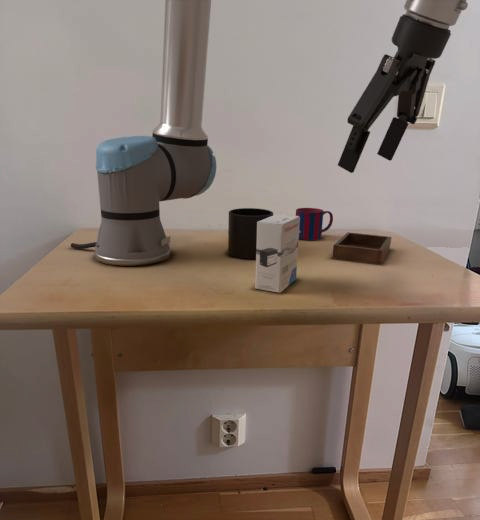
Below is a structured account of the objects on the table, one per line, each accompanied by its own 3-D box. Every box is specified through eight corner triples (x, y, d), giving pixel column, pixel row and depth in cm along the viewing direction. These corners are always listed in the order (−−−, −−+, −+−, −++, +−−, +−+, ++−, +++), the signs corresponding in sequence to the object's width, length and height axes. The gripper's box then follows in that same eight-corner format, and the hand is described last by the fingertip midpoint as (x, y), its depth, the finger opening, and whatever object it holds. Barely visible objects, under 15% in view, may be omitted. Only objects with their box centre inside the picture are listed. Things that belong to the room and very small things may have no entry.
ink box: (272, 276, 91) (275, 213, 86) (297, 280, 89) (301, 215, 84) (253, 289, 84) (255, 220, 79) (279, 293, 82) (283, 224, 77)
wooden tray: (332, 258, 103) (333, 244, 102) (346, 244, 115) (347, 232, 114) (380, 264, 100) (382, 250, 99) (389, 249, 112) (391, 236, 111)
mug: (284, 260, 101) (287, 216, 98) (227, 259, 101) (227, 215, 98) (281, 249, 110) (283, 208, 107) (228, 247, 110) (229, 207, 107)
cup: (290, 235, 124) (292, 208, 121) (326, 233, 126) (328, 207, 124) (300, 241, 118) (302, 212, 115) (337, 239, 120) (340, 211, 118)
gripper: (414, 25, 58) (346, 186, 72) (480, 32, 75) (415, 162, 88) (362, 5, 61) (307, 163, 75) (437, 16, 78) (381, 144, 91)
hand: (365, 162), depth 82 cm, fingers open, 13 cm apart
